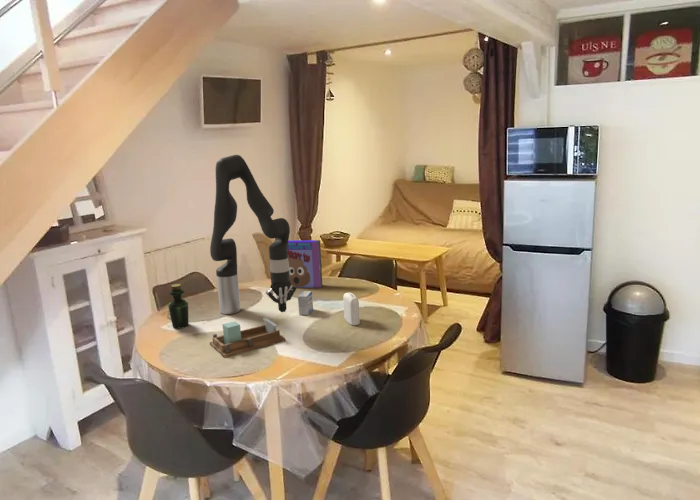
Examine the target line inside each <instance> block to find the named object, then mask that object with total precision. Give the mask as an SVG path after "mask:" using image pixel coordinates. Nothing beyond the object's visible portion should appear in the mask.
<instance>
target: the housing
mask: <svg viewBox="0 0 700 500" xmlns="http://www.w3.org/2000/svg"><path fill="white" fill-rule="evenodd" d="M212 336H213V337H212V341H210V342H209V346H211V348H213V349H214V350H215V351H216V352H217V353H218V354H219V355H221V356H222V357H223V358H227V357H231V356H234V355H239V354H242V353H245V352H249V351H250V352H251V351H252V350H257V349H260V348H264V347H268V346H270V345H274V344H278V343H283V342H284V341H286V338H285V337H284V336H283V335H282V334H281V333H280V330H279V329H278V330H277V329H276V331H273V332H269V333H268V332H267V331H266V328H265V324H263V325H258V326H255V327H251V328H246V329H242V330H241V340H239V341H235V342H231V343H228V344H224V334H223V335H222V334H221V335H217V333H214V334H212Z"/></svg>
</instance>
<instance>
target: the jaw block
mask: <svg viewBox="0 0 700 500" xmlns="http://www.w3.org/2000/svg"><path fill="white" fill-rule="evenodd" d="M241 331H242V330H241V324H240V323H238V322H237V321H236V320H235V321H229V322H226V323H222V333H223V335H224V344H228V343H231V342H235V341H239V340H241Z"/></svg>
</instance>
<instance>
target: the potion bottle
mask: <svg viewBox="0 0 700 500" xmlns="http://www.w3.org/2000/svg"><path fill="white" fill-rule="evenodd" d="M181 285H182V284H181V283H175V284H171V289H170V291H169V296H170V295H171V296H172V298H173V300H172V301H170V302H168V306H167V307H168V311H169V316H170V321H171V325H172V327H173V328H174V329H183V328H186V327H188V325H190V324H189V323H190V320H189V302H188V301H187V300H186V299H183V298H182V296H183V294H184V293H185V291H184V289H183V288H181Z"/></svg>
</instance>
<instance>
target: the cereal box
mask: <svg viewBox="0 0 700 500" xmlns="http://www.w3.org/2000/svg"><path fill="white" fill-rule="evenodd" d="M321 253H322V252H321V240H320V239H315V240H313V239H308V240H306V239H304V240H297V239H295V240H292V239H291V240H290V239H289V240H288V245H287V254H288V262H289V272H290V282H291V285H292V286H295V287H296V289H321V288H322V287H323V270H322V254H321Z"/></svg>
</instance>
